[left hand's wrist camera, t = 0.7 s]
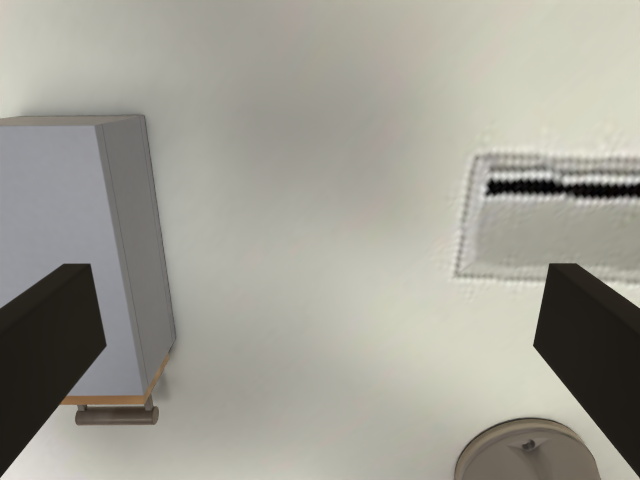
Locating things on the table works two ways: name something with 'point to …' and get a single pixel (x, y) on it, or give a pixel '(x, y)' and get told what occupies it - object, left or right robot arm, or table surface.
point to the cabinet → (89, 233)
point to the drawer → (117, 414)
